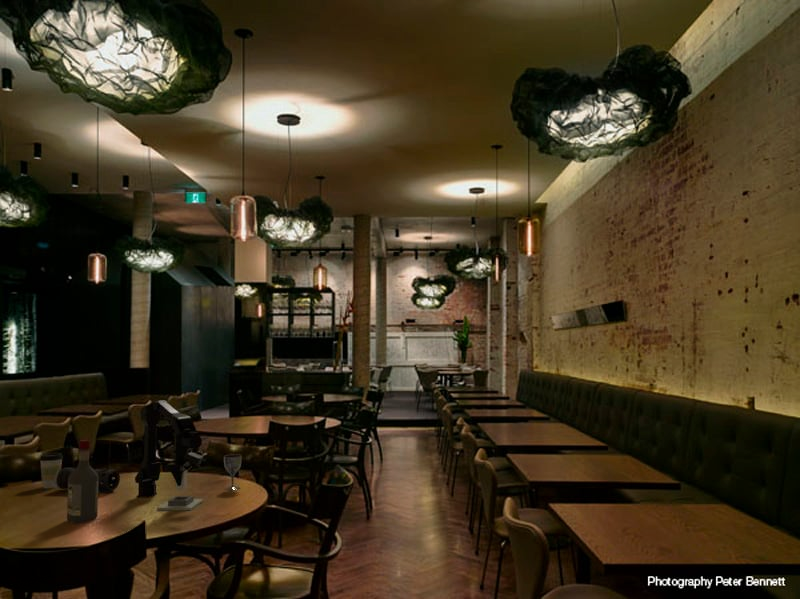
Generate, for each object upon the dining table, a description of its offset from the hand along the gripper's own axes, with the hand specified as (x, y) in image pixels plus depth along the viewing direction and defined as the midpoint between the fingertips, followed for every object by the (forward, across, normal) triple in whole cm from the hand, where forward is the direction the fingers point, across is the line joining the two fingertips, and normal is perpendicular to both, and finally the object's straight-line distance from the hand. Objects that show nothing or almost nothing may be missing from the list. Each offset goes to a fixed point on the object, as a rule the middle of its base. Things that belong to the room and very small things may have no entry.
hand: (181, 484), depth 256 cm
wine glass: (+9, +30, -12) cm, 33 cm away
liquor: (+9, -21, +30) cm, 38 cm away
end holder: (+8, 0, 0) cm, 9 cm away
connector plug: (+2, 0, 0) cm, 2 cm away
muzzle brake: (+9, +24, +54) cm, 60 cm away
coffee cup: (+9, +32, +76) cm, 83 cm away
